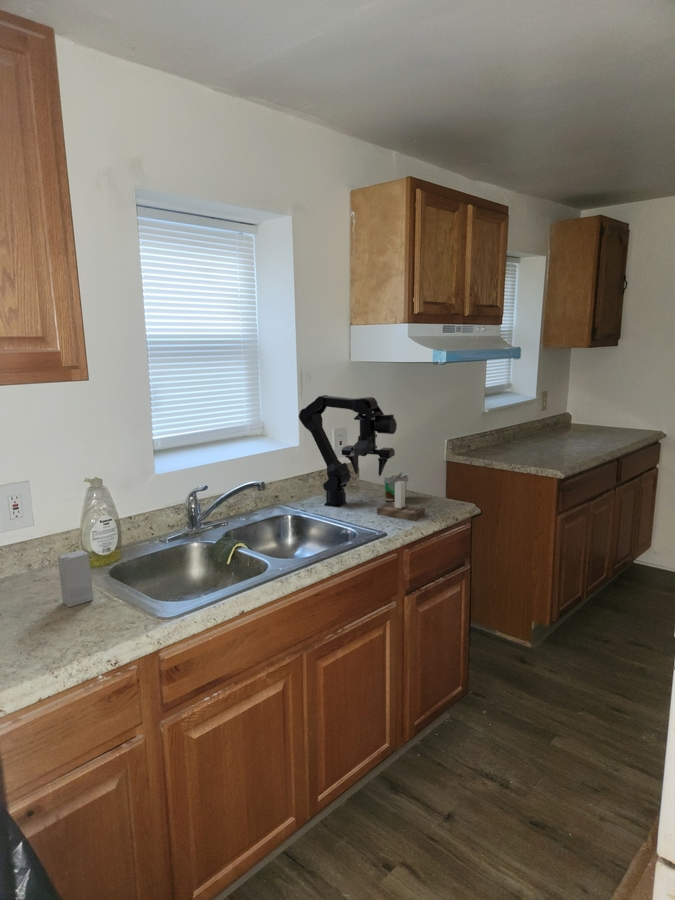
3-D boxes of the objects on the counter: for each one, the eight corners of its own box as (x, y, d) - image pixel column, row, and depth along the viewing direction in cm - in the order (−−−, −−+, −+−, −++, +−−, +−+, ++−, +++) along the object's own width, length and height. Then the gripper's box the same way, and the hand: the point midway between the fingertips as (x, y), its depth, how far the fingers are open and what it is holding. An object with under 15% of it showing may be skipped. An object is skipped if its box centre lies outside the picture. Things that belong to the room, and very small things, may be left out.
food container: (397, 505, 223) (397, 479, 221) (383, 503, 227) (383, 477, 225) (414, 498, 233) (414, 473, 231) (400, 496, 237) (400, 471, 235)
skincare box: (87, 595, 147) (83, 548, 145) (94, 600, 144) (90, 553, 141) (61, 602, 143) (56, 554, 141) (68, 608, 140) (63, 559, 137)
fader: (394, 507, 210) (394, 482, 209) (398, 505, 213) (399, 480, 212) (400, 508, 209) (400, 483, 207) (405, 506, 212) (405, 481, 210)
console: (376, 514, 212) (376, 507, 212) (387, 509, 219) (387, 502, 218) (415, 520, 204) (415, 513, 204) (424, 515, 211) (425, 508, 210)
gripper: (334, 434, 211) (335, 477, 213) (383, 437, 202) (383, 481, 205) (347, 430, 220) (348, 471, 223) (395, 432, 212) (395, 475, 215)
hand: (368, 474), depth 216 cm, fingers open, 9 cm apart
